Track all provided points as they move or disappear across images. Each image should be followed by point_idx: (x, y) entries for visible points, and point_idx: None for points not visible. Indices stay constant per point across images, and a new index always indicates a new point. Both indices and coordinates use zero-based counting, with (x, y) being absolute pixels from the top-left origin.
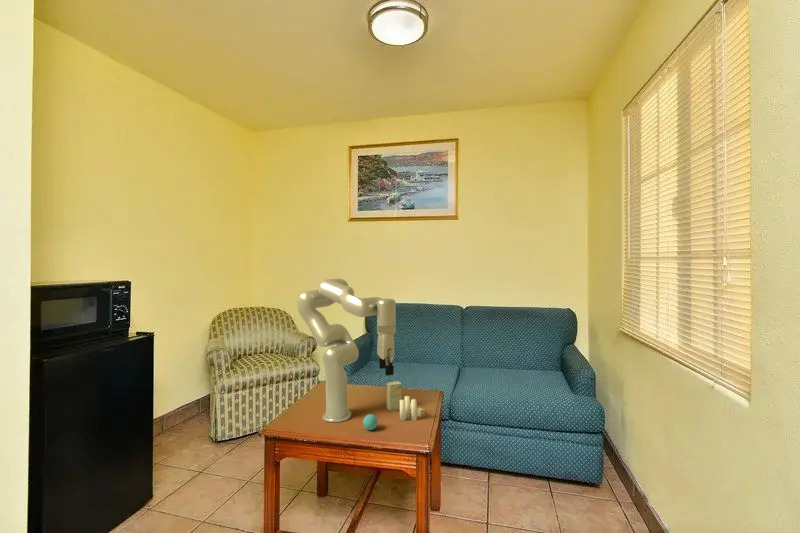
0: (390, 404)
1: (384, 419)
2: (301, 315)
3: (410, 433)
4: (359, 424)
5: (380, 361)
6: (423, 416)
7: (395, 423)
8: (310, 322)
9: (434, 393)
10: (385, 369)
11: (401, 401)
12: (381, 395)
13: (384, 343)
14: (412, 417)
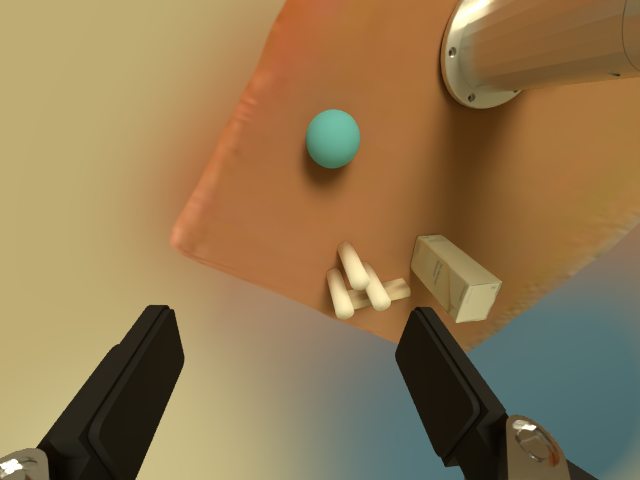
0: (426, 247)
1: (375, 204)
2: None
3: (254, 239)
4: (383, 112)
5: (455, 383)
6: None
7: (333, 223)
8: None
9: None
10: (117, 362)
11: (353, 277)
12: (530, 249)
13: None
14: (331, 273)
